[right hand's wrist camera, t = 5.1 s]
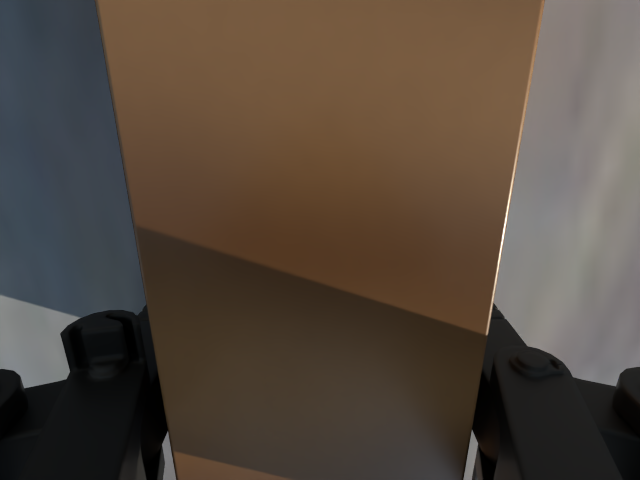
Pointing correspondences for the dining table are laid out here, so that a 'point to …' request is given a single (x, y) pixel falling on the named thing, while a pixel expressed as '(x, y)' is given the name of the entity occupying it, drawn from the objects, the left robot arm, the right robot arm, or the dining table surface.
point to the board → (319, 222)
